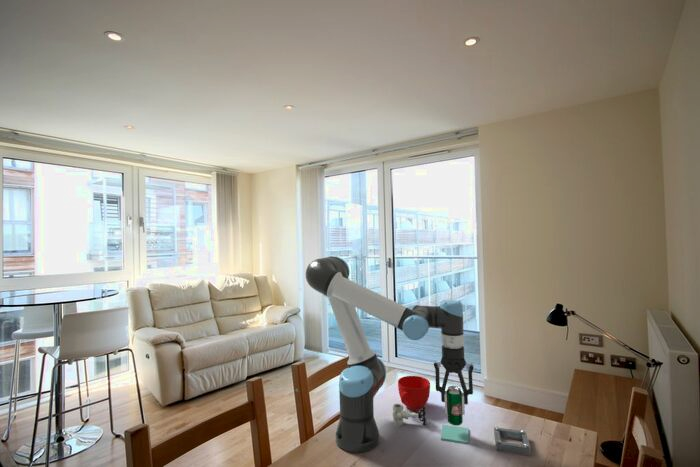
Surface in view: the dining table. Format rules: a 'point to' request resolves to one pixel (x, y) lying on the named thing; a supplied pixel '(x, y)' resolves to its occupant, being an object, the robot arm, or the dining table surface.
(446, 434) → the pad
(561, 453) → the dining table surface
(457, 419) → the soda can
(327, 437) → the dining table surface
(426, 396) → the ceramic cup
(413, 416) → the valve
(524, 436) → the frame
